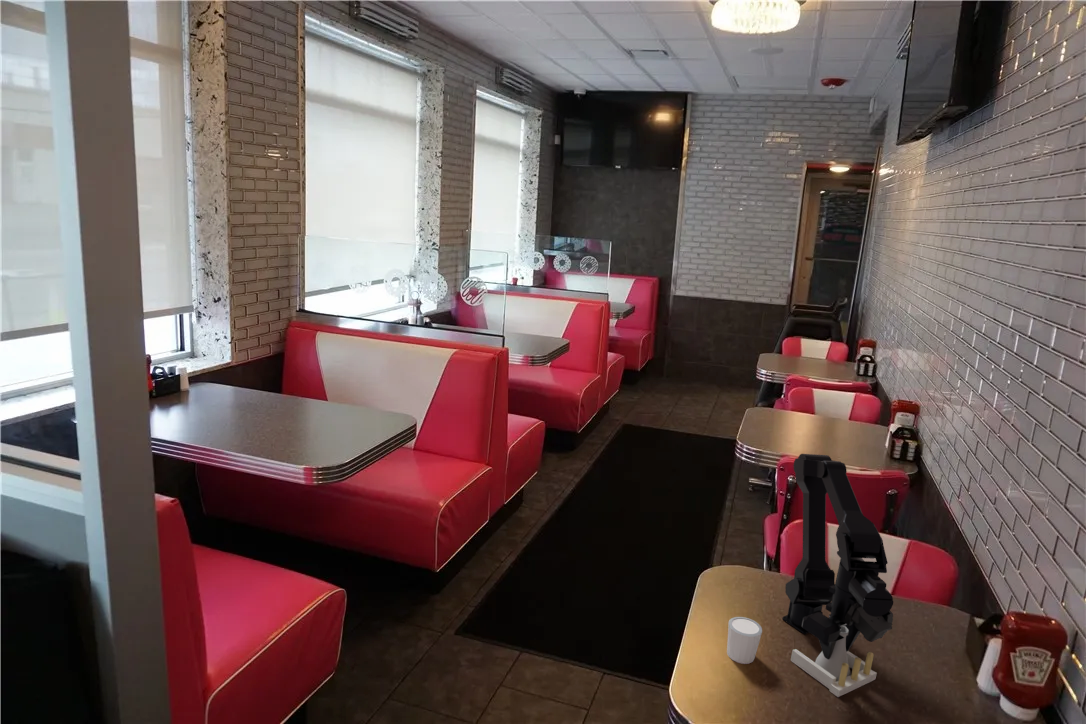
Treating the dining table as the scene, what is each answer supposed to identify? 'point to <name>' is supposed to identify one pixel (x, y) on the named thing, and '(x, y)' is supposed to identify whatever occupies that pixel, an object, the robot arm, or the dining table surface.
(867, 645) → the dining table surface
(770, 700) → the dining table surface
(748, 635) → the white cup
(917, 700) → the dining table surface
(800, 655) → the wall peg rack
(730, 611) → the dining table surface
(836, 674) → the flask
